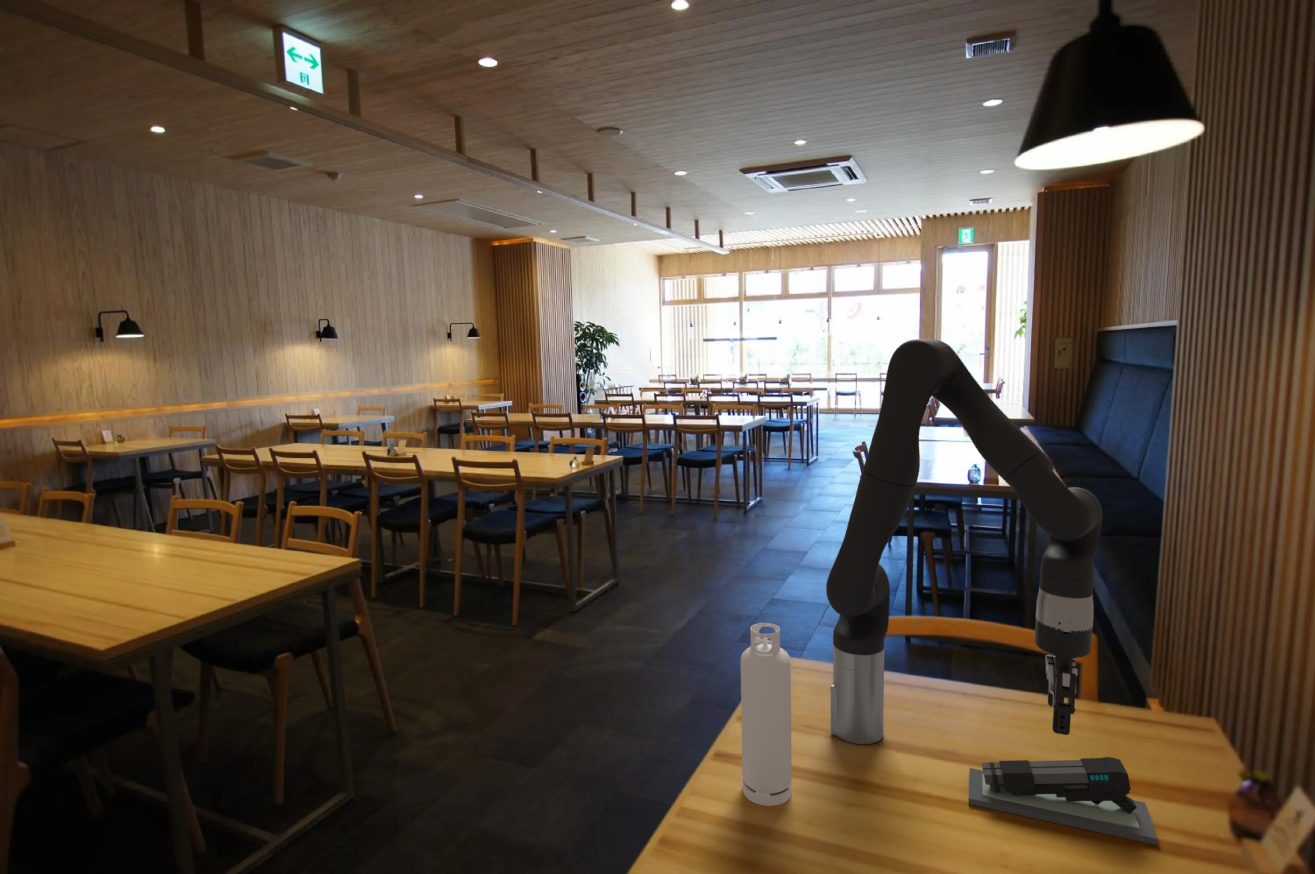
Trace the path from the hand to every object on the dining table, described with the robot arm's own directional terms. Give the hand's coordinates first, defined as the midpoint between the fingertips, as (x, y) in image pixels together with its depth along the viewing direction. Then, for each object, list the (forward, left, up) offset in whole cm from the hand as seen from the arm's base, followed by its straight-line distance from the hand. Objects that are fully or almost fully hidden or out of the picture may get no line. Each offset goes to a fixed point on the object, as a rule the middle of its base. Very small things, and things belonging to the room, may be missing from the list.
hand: (1058, 719), depth 110 cm
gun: (0, 0, -14) cm, 13 cm away
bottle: (-43, -13, -15) cm, 47 cm away
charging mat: (0, 0, -14) cm, 14 cm away
